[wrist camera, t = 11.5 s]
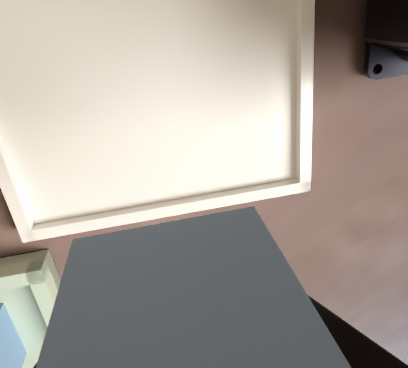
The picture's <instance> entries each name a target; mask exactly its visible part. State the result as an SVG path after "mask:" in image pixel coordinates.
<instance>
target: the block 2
mask: <svg viewBox="0 0 408 368" xmlns="http://www.w3.org/2000/svg"><path fill="white" fill-rule="evenodd" d="M36 368H351V366H350V365H349V363H348V361H347V360H346V358H345V356H344V355H343V353H342V352H341V350H340V348H339V347H338V345H337V343H336V342H335V340H334V338H333V337H332V335H331V333H330V332H329V330H328V328H327V327H326V325H325V323H324V322H323V320H322V318H321V317H320V315H319V313H318V312H317V310H316V308H315V307H314V305H313V304H312V302H311V300H310V299H309V297H308V295H307V294H306V292H305V290H304V289H303V287H302V285H301V284H300V282H299V280H298V279H297V277H296V275H295V274H294V272H293V270H292V269H291V267H290V265H289V264H288V262H287V261H286V259H285V257H284V256H283V254H282V252H281V251H280V249H279V247H278V246H277V244H276V242H275V241H274V239H273V237H272V236H271V234H270V232H269V231H268V229H267V227H266V226H265V224H264V222H263V221H262V219H261V218H260V216H259V214H258V213H257V211H256V209H255V208H254V206H253V207H248V208H242V209H237V210H231V211H226V212H220V213H215V214H210V215H204V216H199V217H193V218H188V219H182V220H177V221H171V222H166V223H160V224H155V225H149V226H144V227H139V228H133V229H128V230H122V231H117V232H111V233H106V234H100V235H95V236H89V237H84V238H78V239H73V241H72V244H71V248H70V251H69V255H68V258H67V262H66V265H65V268H64V272H63V275H62V279H61V282H60V286H59V289H58V293H57V296H56V300H55V303H54V307H53V310H52V313H51V317H50V320H49V324H48V327H47V331H46V334H45V338H44V341H43V345H42V348H41V352H40V355H39V358H38V362H37V365H36Z"/></svg>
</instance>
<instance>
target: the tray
mask: <svg viewBox="0 0 408 368" xmlns="http://www.w3.org/2000/svg"><path fill="white" fill-rule="evenodd" d="M60 282H61V281H60V278H59V276H58V273H57V270H56V268H55V265H54V262H53V259H52V257H51V254H50V251H49V249H47V250H42V251H36V252H31V253H26V254H20V255H15V256H9V257H4V258H0V304H2V303H4V305H5V307H6V309H7V311H8V314H9V316H10V318H11V320H12V322H13V324H14V326H15V328H16V331H17V333H18V335H19V337H20V339H21V341H22V343H23V345H24V348H25V350H26V352H27V354H26V357H25V360H24V363H23V366H22V368H33V367H34V366H35V364H36V363H37V362H38V358H39V355H40V352H41V348H42V345H43V341H44V338H45V334H46V331H47V327H48V324H49V320H50V317H51V313H52V310H53V307H54V303H55V300H56V296H57V293H58V289H59V286H60Z"/></svg>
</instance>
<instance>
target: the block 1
mask: <svg viewBox="0 0 408 368" xmlns="http://www.w3.org/2000/svg"><path fill="white" fill-rule="evenodd" d="M26 354H27V352H26V350H25V348H24V345H23V343H22V341H21V339H20V337H19V335H18V333H17V331H16V328H15V326H14V324H13V322H12V320H11V318H10V316H9V314H8V311H7V309H6V307H5V305H4V303H2V304H0V368H22V366H23V363H24V360H25V357H26Z"/></svg>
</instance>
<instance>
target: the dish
mask: <svg viewBox="0 0 408 368" xmlns="http://www.w3.org/2000/svg"><path fill="white" fill-rule="evenodd" d="M314 23H315V0H0V188H1V190H2V193H3V195H4V198H5V200H6V203H7V205H8V208H9V210H10V213H11V215H12V218H13V220H14V222H15V225H16V227H17V230H18V232H19V235H20V237H21V240H22V242H23V243H25V242H30V241H36V240H41V239H47V238H52V237H58V236H63V235H69V234H75V233H80V232H86V231H91V230H97V229H102V228H108V227H113V226H119V225H124V224H130V223H135V222H141V221H147V220H152V219H158V218H163V217H169V216H174V215H180V214H185V213H191V212H196V211H202V210H207V209H213V208H219V207H224V206H230V205H235V204H241V203H246V202H252V201H257V200H263V199H268V198H274V197H279V196H285V195H291V194H296V193H302V192H307V191H311V153H312V110H313V66H314Z"/></svg>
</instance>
